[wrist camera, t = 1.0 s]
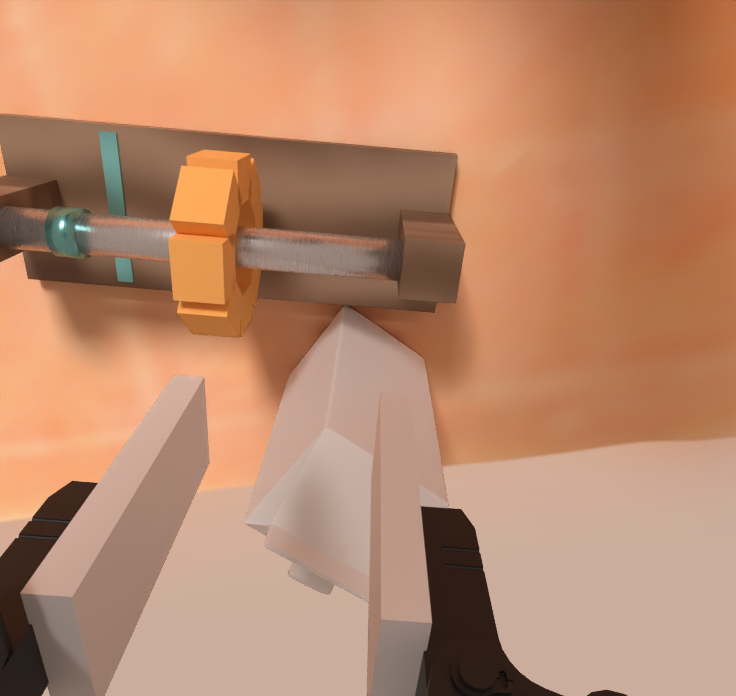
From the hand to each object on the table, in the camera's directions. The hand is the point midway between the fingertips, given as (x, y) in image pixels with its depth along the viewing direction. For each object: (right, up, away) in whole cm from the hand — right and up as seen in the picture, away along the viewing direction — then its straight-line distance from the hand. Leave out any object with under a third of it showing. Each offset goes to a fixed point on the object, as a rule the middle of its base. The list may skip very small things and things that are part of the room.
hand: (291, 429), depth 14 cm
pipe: (-7, +8, +16) cm, 19 cm away
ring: (-6, +10, +19) cm, 22 cm away
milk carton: (+1, +1, +25) cm, 25 cm away
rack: (-7, +11, +20) cm, 24 cm away
